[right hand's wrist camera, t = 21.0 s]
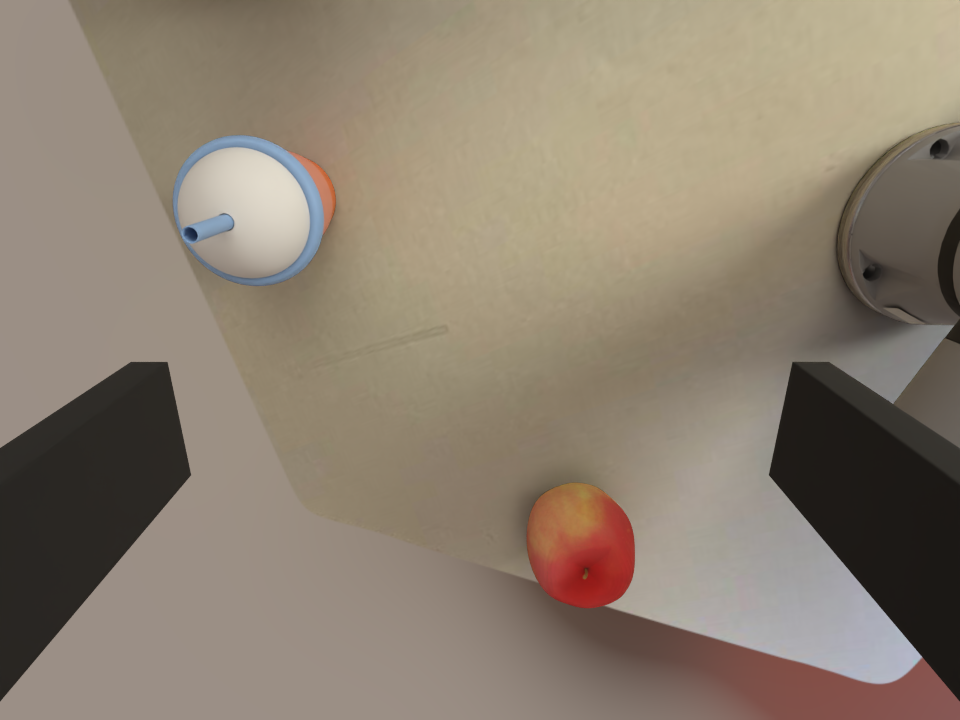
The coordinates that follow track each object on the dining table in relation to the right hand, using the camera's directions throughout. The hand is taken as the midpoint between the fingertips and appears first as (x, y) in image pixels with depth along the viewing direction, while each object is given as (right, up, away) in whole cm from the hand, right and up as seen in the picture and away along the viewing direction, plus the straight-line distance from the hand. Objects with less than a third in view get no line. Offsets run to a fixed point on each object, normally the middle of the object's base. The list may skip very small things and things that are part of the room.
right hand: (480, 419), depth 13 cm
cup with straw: (-14, +14, +33) cm, 39 cm away
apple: (+9, -13, +44) cm, 46 cm away
